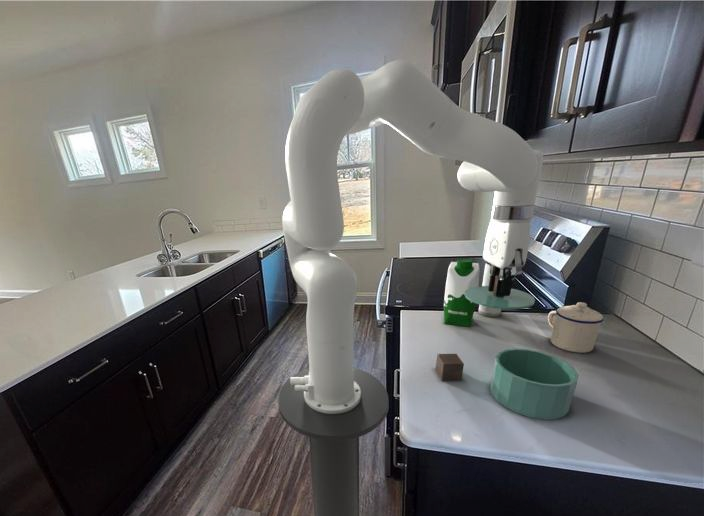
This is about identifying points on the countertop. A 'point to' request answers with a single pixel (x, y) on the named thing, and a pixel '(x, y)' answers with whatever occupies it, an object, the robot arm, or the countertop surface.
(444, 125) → the robot arm
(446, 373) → the block
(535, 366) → the bowl
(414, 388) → the countertop surface
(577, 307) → the teacup with lid
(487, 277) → the travel mug
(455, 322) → the milk carton
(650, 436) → the countertop surface
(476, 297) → the lid
